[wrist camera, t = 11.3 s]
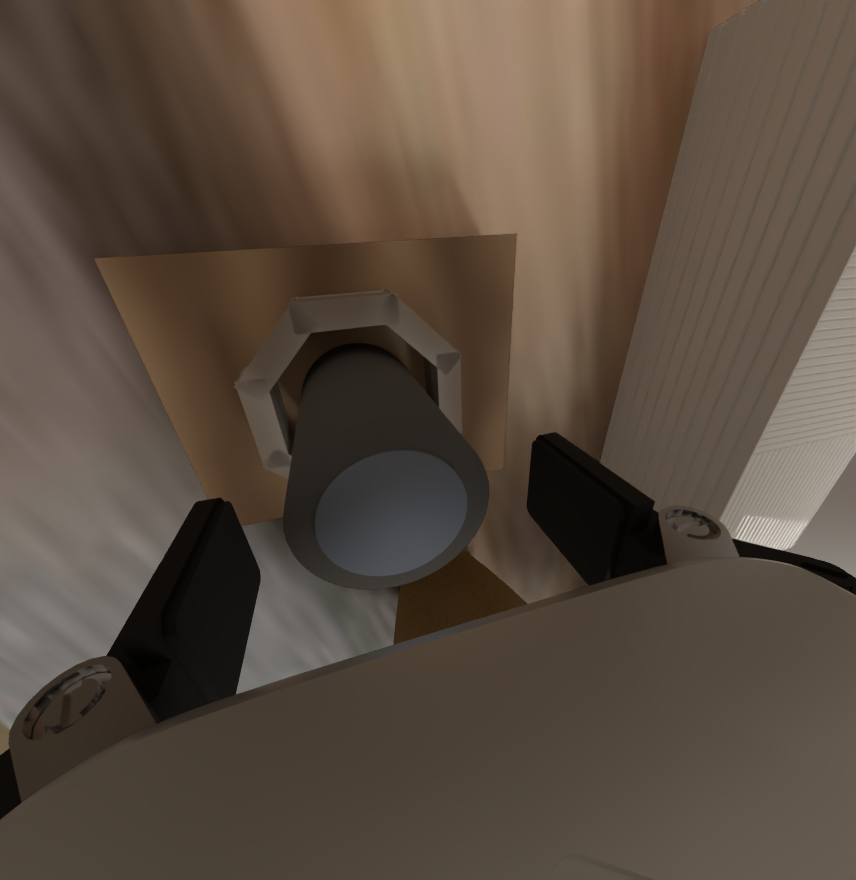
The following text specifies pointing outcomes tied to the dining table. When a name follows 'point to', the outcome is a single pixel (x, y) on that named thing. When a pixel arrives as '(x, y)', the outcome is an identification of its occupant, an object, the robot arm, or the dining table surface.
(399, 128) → the dining table surface
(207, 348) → the wooden block
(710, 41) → the stack of papers
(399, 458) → the lens
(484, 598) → the plant pot
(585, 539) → the robot arm
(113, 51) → the dining table surface
